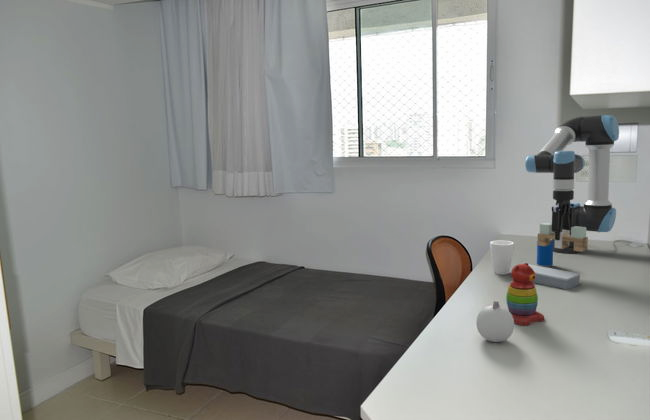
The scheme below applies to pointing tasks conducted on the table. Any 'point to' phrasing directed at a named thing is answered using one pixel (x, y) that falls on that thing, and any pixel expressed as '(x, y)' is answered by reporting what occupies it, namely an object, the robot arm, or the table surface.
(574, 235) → the block
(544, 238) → the tan wooden bar
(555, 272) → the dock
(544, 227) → the block
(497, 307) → the ornament
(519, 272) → the stacking bear
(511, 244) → the foam cup
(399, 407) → the table surface
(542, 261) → the beverage can
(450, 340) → the table surface
